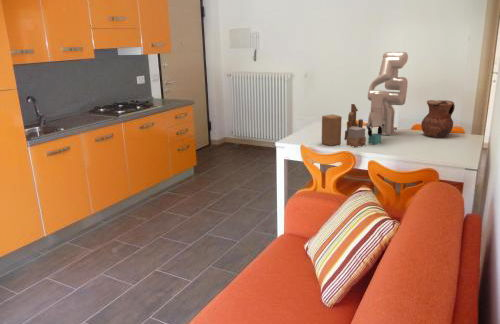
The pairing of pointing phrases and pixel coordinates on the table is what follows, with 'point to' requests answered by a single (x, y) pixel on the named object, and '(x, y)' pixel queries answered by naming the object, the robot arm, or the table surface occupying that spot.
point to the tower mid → (356, 132)
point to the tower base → (356, 141)
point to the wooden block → (331, 129)
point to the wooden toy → (353, 120)
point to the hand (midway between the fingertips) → (374, 134)
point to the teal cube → (374, 139)
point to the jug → (438, 118)
